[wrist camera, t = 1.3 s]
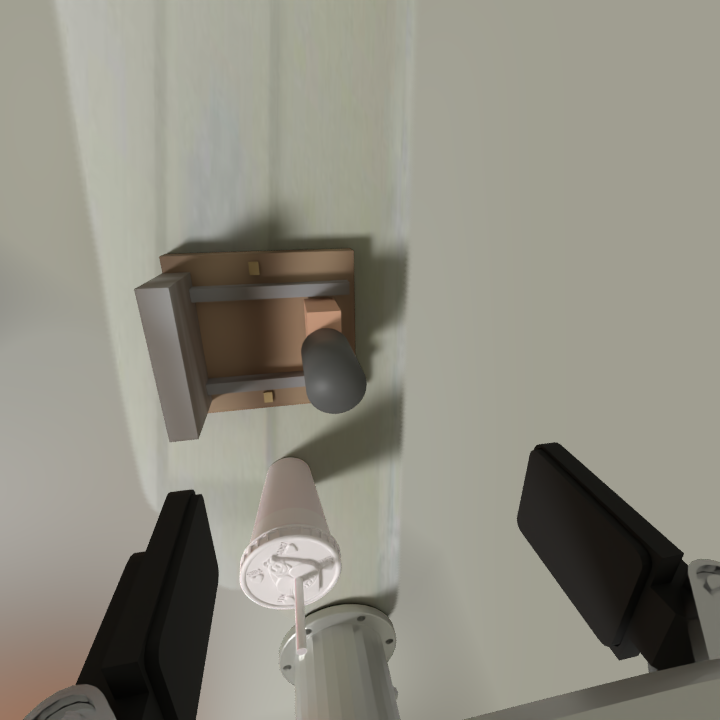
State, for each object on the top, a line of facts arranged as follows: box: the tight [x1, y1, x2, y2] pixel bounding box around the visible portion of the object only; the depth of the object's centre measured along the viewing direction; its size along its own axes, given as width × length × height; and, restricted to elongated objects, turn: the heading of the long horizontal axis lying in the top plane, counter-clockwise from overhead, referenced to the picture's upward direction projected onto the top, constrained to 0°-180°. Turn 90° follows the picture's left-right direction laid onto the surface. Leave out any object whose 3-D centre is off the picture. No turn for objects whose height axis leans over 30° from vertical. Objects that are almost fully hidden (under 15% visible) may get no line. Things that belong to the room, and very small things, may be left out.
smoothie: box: [240, 457, 341, 655], centre depth 26 cm, size 6×6×14 cm
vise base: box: [134, 248, 355, 442], centre depth 25 cm, size 12×11×6 cm
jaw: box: [301, 298, 367, 414], centre depth 23 cm, size 3×5×9 cm, turn 0°
